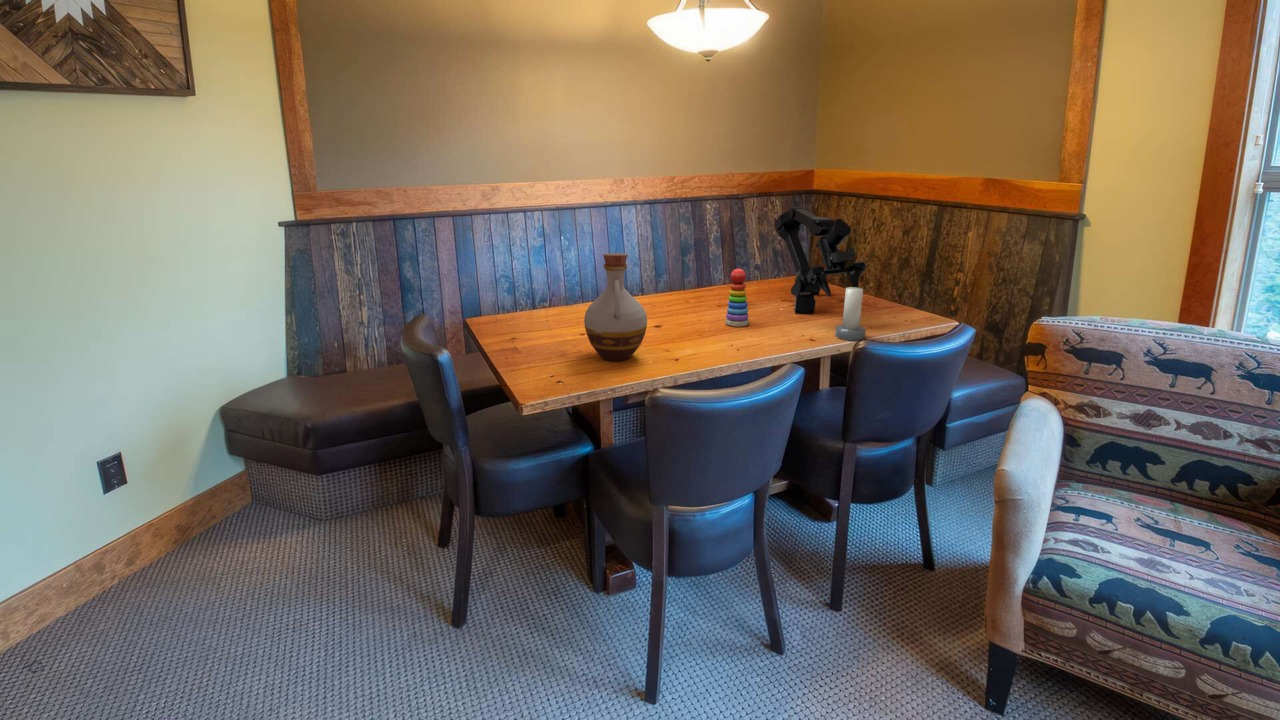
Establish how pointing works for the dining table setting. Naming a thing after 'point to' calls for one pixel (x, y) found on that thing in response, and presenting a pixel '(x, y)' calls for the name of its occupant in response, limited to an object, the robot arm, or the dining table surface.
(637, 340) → the jug
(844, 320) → the tapered white cylinder
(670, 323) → the dining table surface
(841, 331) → the plinth
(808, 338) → the dining table surface
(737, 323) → the stacking toy
